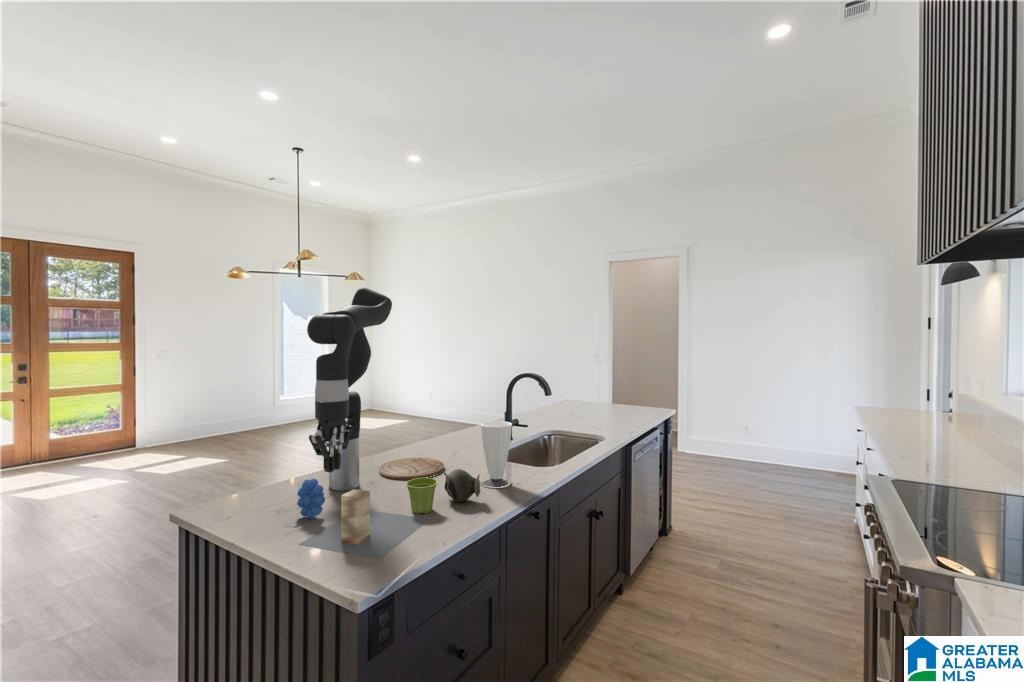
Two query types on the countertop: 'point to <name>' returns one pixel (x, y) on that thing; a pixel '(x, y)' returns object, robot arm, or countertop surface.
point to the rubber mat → (382, 539)
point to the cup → (496, 450)
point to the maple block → (355, 516)
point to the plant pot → (421, 494)
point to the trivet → (411, 468)
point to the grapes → (311, 498)
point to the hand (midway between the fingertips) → (332, 470)
